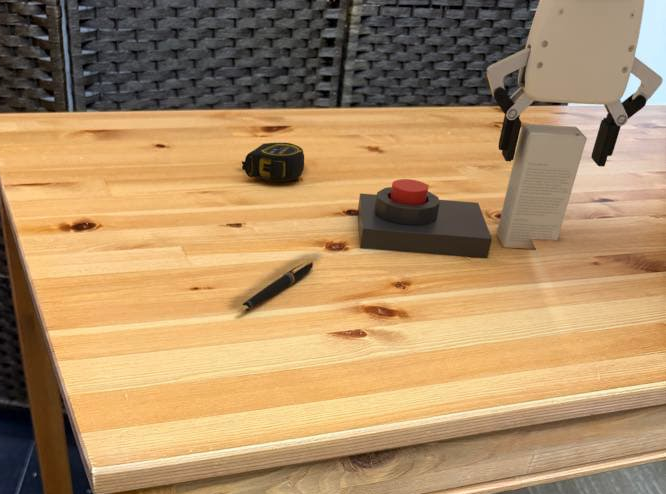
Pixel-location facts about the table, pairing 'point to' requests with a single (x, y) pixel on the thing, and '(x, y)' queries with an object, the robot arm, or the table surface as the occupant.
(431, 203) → the console
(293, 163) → the tape measure
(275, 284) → the fountain pen
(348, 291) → the table surface
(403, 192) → the button
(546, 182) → the cosmetic box
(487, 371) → the table surface
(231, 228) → the table surface
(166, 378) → the table surface
